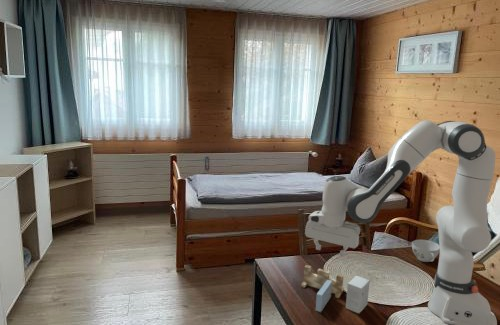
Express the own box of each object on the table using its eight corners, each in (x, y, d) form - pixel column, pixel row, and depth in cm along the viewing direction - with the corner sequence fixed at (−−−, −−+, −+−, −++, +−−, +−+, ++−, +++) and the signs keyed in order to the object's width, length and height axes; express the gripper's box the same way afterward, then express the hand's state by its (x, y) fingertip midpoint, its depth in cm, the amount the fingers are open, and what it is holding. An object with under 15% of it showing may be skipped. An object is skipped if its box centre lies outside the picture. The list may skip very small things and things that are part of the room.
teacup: (406, 253, 189) (407, 238, 188) (431, 254, 189) (433, 239, 187) (418, 267, 175) (420, 252, 173) (445, 268, 174) (447, 252, 173)
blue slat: (326, 295, 150) (327, 279, 149) (330, 297, 149) (332, 281, 148) (315, 310, 140) (316, 293, 139) (320, 312, 139) (321, 295, 138)
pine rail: (343, 290, 154) (345, 272, 152) (338, 298, 148) (340, 280, 147) (307, 279, 162) (308, 262, 160) (301, 286, 156) (302, 269, 154)
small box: (354, 299, 148) (356, 274, 146) (367, 304, 145) (370, 279, 142) (345, 308, 142) (347, 283, 140) (359, 314, 138) (361, 288, 136)
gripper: (362, 221, 139) (359, 256, 142) (310, 210, 148) (308, 243, 151) (358, 227, 133) (354, 262, 136) (304, 215, 143) (302, 249, 146)
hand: (330, 252), depth 144 cm, fingers open, 8 cm apart
